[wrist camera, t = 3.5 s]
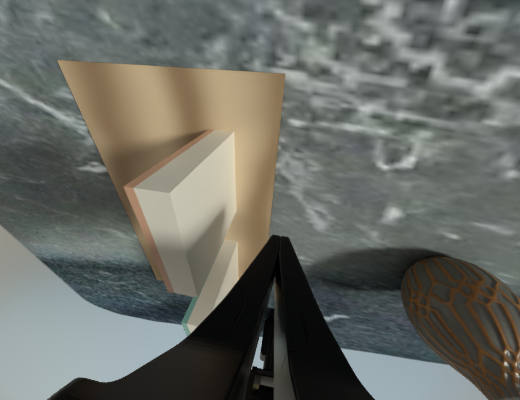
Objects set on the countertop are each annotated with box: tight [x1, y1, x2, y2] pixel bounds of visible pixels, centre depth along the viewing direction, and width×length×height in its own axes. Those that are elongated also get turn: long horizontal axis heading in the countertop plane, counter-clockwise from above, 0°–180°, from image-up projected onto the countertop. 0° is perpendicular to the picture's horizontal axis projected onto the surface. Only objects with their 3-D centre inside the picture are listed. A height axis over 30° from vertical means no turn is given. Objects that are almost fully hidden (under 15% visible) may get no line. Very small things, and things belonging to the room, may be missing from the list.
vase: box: [401, 257, 520, 400], centre depth 14 cm, size 7×7×9 cm
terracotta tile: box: [123, 129, 236, 297], centre depth 12 cm, size 2×7×8 cm, turn 177°
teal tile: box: [181, 240, 239, 336], centre depth 18 cm, size 2×7×8 cm, turn 177°
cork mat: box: [57, 60, 285, 281], centre depth 19 cm, size 15×25×1 cm, turn 177°
